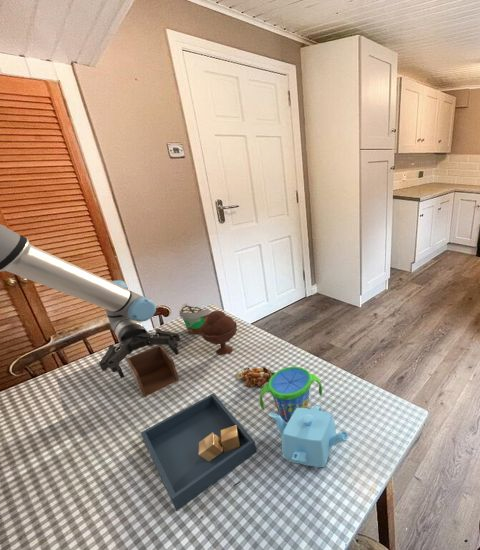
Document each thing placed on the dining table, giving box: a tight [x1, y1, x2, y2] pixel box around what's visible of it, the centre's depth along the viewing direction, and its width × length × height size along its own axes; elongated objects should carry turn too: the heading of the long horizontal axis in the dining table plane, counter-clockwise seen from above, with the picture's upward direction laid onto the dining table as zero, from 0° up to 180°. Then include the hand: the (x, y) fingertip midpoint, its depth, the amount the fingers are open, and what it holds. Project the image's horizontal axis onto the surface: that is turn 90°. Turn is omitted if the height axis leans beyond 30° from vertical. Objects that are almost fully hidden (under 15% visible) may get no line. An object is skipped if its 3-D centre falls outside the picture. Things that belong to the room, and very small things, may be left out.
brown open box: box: [125, 345, 180, 398], centre depth 89 cm, size 11×9×8 cm
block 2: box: [221, 425, 240, 452], centre depth 69 cm, size 3×3×3 cm
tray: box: [140, 392, 257, 512], centre depth 69 cm, size 22×17×4 cm
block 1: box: [199, 433, 223, 462], centre depth 67 cm, size 3×3×3 cm
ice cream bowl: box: [200, 310, 238, 356], centre depth 101 cm, size 11×11×15 cm
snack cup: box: [259, 366, 323, 422], centre depth 78 cm, size 16×10×10 cm
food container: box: [179, 303, 211, 336], centre depth 113 cm, size 12×6×10 cm, turn 68°
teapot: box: [269, 405, 349, 469], centre depth 66 cm, size 18×14×10 cm
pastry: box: [235, 366, 276, 388], centre depth 90 cm, size 7×12×4 cm, turn 78°
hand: (150, 361), depth 87 cm, fingers open, 13 cm apart
